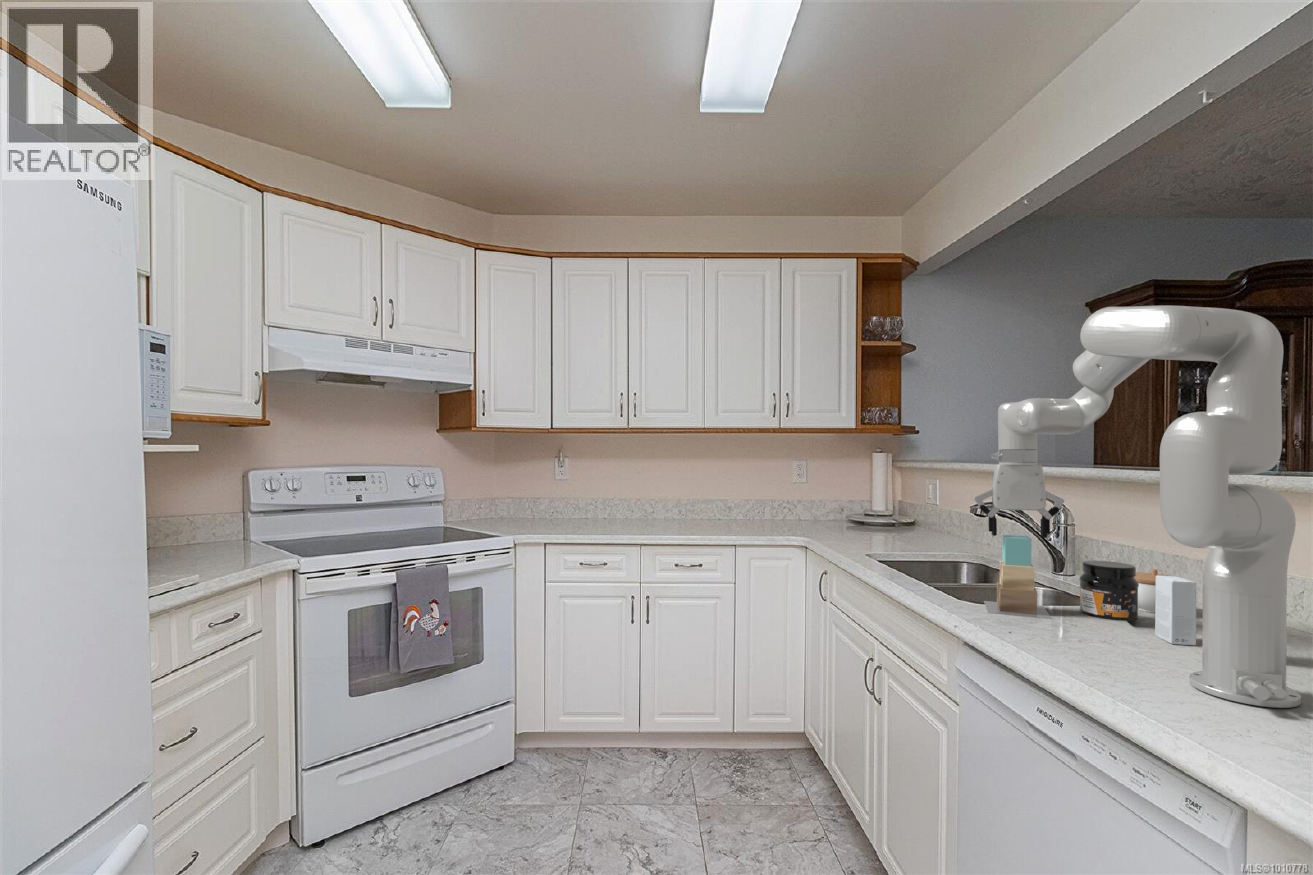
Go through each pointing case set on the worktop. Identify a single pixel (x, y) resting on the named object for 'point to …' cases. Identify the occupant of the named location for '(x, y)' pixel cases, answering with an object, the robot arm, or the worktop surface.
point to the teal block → (1016, 550)
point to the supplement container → (1109, 591)
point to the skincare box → (1175, 610)
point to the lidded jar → (1147, 590)
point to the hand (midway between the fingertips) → (1018, 536)
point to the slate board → (994, 609)
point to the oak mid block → (1017, 577)
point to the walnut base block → (1016, 600)
